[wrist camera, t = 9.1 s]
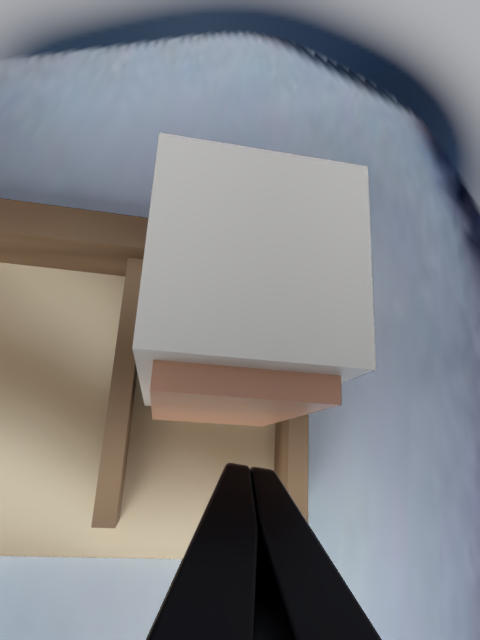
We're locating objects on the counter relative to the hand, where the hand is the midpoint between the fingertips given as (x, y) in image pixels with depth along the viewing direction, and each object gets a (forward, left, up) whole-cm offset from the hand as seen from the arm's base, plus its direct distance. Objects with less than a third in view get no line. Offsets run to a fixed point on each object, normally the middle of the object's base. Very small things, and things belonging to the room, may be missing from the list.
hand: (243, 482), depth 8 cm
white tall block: (+3, -2, -6) cm, 7 cm away
